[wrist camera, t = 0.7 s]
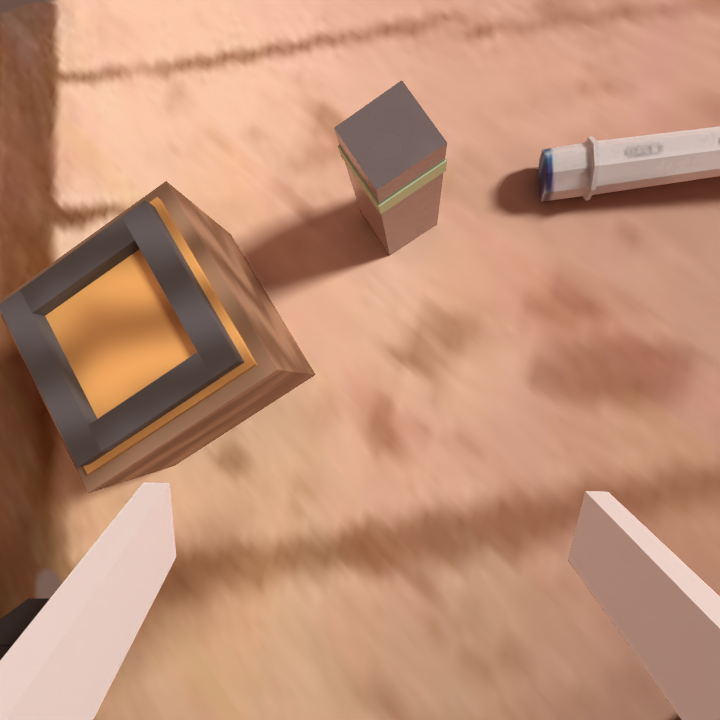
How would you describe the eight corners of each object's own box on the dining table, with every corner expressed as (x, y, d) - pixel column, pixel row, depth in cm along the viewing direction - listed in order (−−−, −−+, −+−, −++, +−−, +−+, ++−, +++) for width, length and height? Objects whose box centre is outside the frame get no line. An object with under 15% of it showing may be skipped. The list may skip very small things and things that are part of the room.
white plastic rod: (544, 129, 31) (989, 52, 24) (533, 173, 38) (882, 121, 31) (547, 194, 31) (999, 134, 24) (535, 227, 37) (889, 187, 30)
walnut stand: (315, 374, 36) (268, 368, 25) (174, 465, 38) (69, 498, 26) (230, 234, 38) (152, 169, 27) (100, 324, 40) (-27, 299, 28)
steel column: (438, 224, 36) (449, 143, 24) (389, 257, 36) (376, 192, 24) (407, 179, 36) (402, 78, 25) (359, 211, 37) (331, 127, 25)
